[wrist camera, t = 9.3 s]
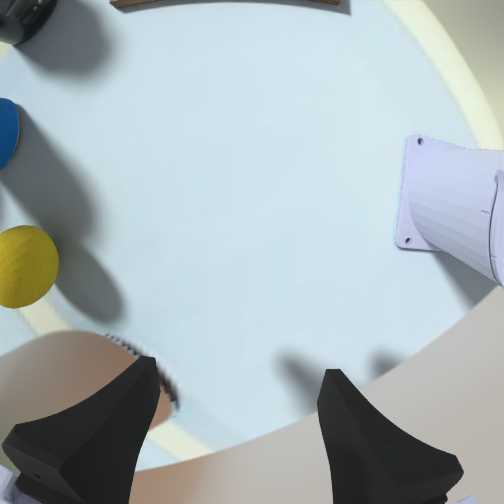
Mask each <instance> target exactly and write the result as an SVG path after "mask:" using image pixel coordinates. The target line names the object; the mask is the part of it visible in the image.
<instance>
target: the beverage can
mask: <svg viewBox="0 0 504 504" xmlns="http://www.w3.org/2000/svg"><path fill="white" fill-rule="evenodd" d="M19 129H20V125H19V115H18V111H17V108H16V106H15V104H14V103H13V102H12V101H11V100H9V99H5V98H0V170H2V169H3V168H4V167H5V166H6V165H7V164H8V162H9V161H10V159H11V157H12V155H13V153H14V151H15V148H16V145H17V142H18V137H19Z"/></svg>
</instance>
